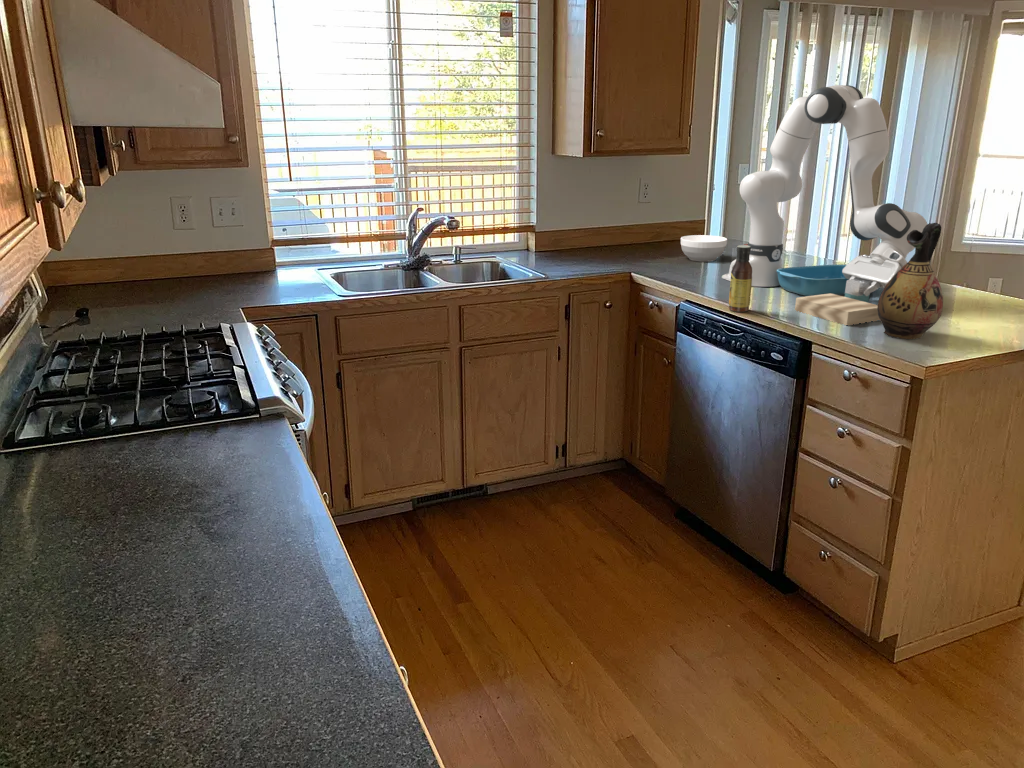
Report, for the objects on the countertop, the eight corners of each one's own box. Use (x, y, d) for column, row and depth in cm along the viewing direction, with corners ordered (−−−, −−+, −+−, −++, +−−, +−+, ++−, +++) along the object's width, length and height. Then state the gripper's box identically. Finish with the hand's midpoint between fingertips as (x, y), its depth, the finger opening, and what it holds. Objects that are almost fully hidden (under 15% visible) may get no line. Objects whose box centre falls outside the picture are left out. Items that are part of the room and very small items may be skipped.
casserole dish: (846, 280, 274) (849, 261, 271) (894, 293, 254) (898, 272, 251) (761, 288, 262) (763, 268, 260) (804, 302, 242) (807, 280, 240)
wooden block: (794, 310, 231) (796, 297, 230) (828, 305, 237) (830, 293, 235) (846, 325, 214) (848, 312, 213) (882, 320, 219) (884, 306, 218)
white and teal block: (843, 305, 237) (846, 280, 234) (854, 303, 239) (858, 278, 236) (855, 308, 233) (859, 283, 230) (867, 307, 235) (871, 281, 232)
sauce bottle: (733, 306, 237) (738, 243, 230) (752, 309, 233) (758, 245, 226) (724, 310, 232) (729, 246, 225) (743, 313, 228) (750, 248, 221)
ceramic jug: (918, 346, 194) (939, 229, 184) (862, 333, 206) (879, 222, 196) (951, 335, 203) (972, 223, 194) (895, 324, 215) (912, 217, 205)
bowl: (671, 257, 322) (672, 236, 319) (710, 254, 328) (711, 234, 325) (694, 264, 305) (695, 243, 302) (734, 261, 311) (736, 240, 308)
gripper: (856, 247, 242) (827, 279, 242) (906, 257, 224) (875, 292, 224) (865, 260, 245) (836, 292, 245) (916, 271, 227) (885, 305, 227)
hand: (855, 292), depth 234 cm, fingers closed on white and teal block, 5 cm apart
